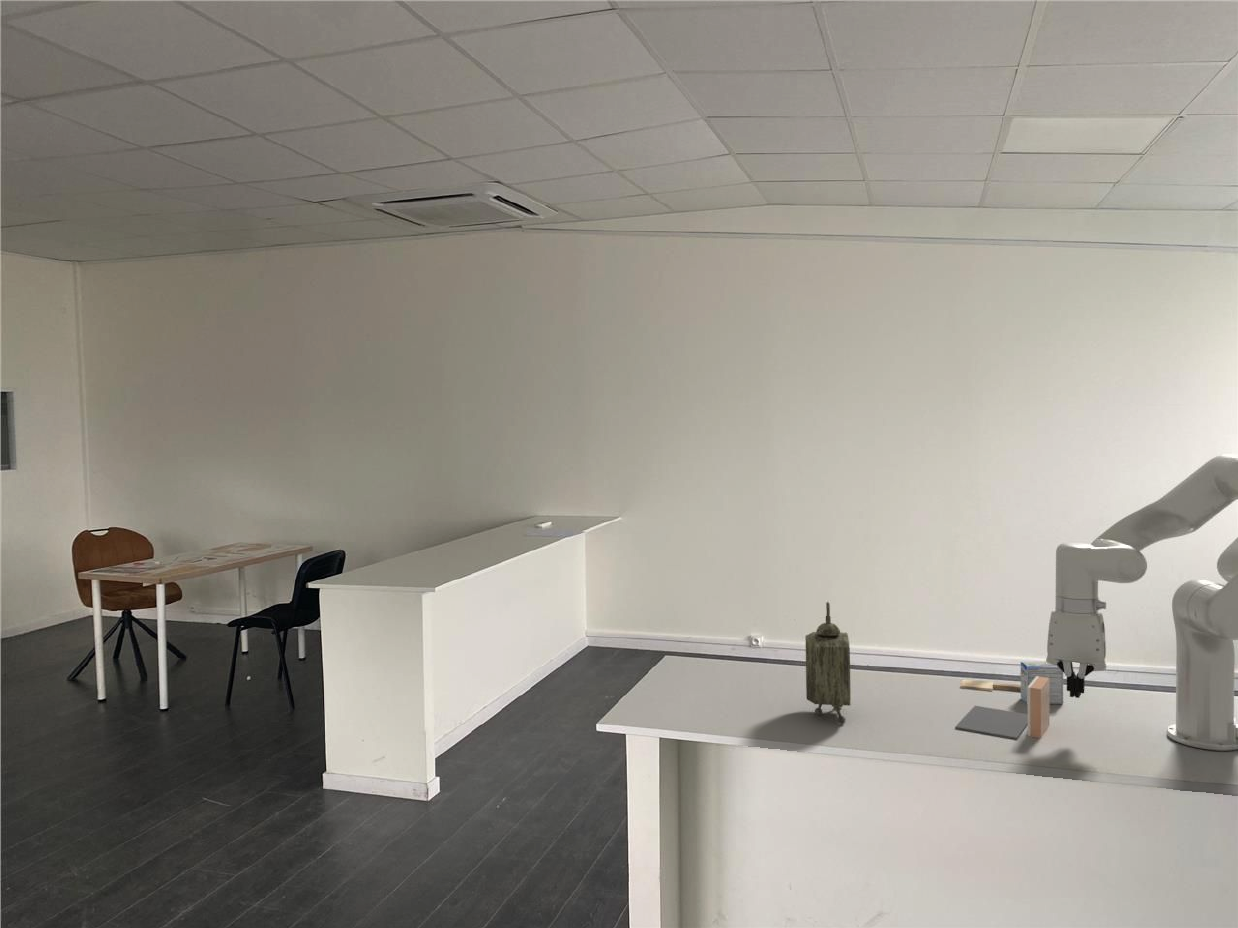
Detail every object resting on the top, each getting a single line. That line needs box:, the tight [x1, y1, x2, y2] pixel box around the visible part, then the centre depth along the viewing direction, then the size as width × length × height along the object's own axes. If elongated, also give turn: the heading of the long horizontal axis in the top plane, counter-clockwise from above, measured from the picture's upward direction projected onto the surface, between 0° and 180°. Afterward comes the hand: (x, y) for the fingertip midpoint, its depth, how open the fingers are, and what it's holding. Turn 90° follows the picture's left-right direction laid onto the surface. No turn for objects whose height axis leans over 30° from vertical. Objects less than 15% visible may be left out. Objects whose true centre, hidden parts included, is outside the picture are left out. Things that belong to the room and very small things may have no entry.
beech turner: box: [960, 679, 1021, 692], centre depth 209 cm, size 17×6×1 cm, turn 64°
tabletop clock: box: [804, 601, 851, 725], centre depth 192 cm, size 14×9×25 cm, turn 168°
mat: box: [954, 705, 1028, 740], centre depth 186 cm, size 12×16×1 cm
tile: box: [1027, 676, 1050, 739], centre depth 180 cm, size 2×9×10 cm, turn 144°
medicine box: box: [1020, 661, 1064, 705], centre depth 198 cm, size 8×4×9 cm, turn 84°
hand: (1075, 695), depth 176 cm, fingers closed
